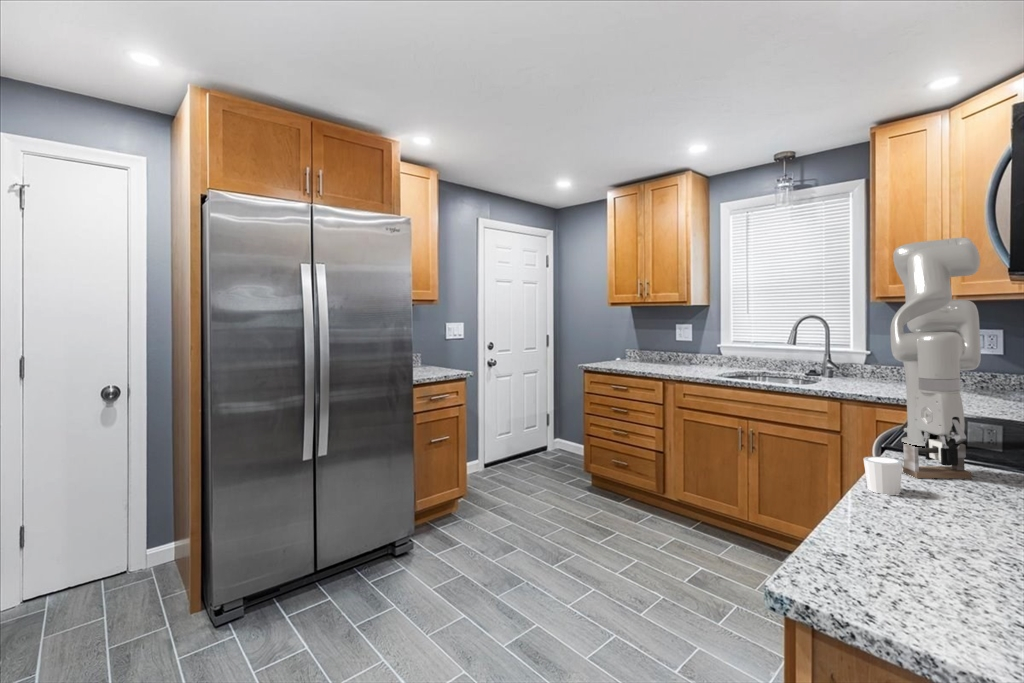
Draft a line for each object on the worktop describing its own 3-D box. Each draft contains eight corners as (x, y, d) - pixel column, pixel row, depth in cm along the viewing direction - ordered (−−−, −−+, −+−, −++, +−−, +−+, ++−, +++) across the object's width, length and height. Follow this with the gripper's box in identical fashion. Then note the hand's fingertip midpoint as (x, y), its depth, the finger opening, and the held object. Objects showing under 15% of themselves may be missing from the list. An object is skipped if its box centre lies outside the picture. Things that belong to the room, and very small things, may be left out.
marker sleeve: (929, 457, 120) (928, 439, 120) (940, 457, 119) (939, 439, 119) (942, 462, 115) (941, 443, 115) (954, 461, 115) (953, 443, 115)
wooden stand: (903, 472, 121) (901, 442, 121) (955, 472, 119) (954, 441, 119) (916, 478, 116) (915, 446, 116) (971, 478, 114) (970, 446, 114)
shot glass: (871, 495, 106) (870, 463, 106) (859, 486, 113) (858, 455, 112) (909, 497, 104) (908, 464, 104) (895, 487, 110) (894, 456, 110)
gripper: (898, 382, 126) (901, 453, 126) (947, 390, 109) (950, 472, 110) (931, 381, 125) (933, 453, 125) (985, 389, 108) (988, 472, 109)
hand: (941, 461), depth 117 cm, fingers closed on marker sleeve, 4 cm apart
